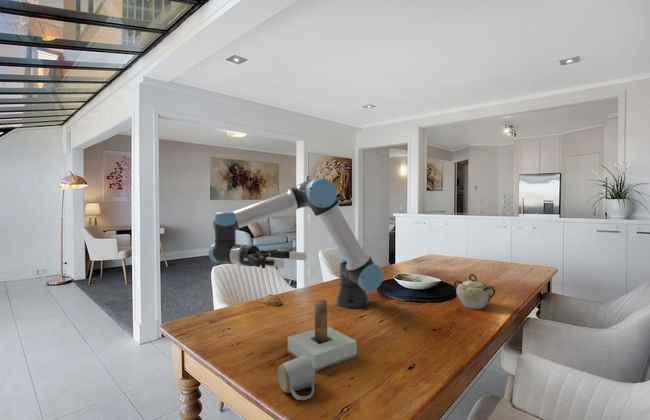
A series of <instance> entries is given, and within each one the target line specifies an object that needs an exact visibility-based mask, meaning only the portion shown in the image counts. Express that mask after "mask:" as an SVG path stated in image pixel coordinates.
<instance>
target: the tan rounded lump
mask: <svg viewBox="0 0 650 420" xmlns="http://www.w3.org/2000/svg"><path fill="white" fill-rule="evenodd" d="M263 302H264V303H265V304H266V305H267V306H272V307H278V306H280V305H281V304H282V300H281V298H280V297H279V296H278V295H275V294H267V295H265V297H264V299H263Z"/></svg>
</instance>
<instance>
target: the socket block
mask: <svg viewBox="0 0 650 420" xmlns="http://www.w3.org/2000/svg"><path fill="white" fill-rule="evenodd" d="M327 339H328V342H325V343H321V344H318V343H317V342H315V328H314V329H311V330H306V331H303V332H300V333H297V334H293V335H289V336H287V353H289V355H291V354H292V355H291V356H293V357H294V358H295V357H296V358H298V357H301V356H303V355H306V356H308V358H309V359H310V360H311V362H312V365H313V368H314V371H317V370H320V369H322V370H324V369H323V368H325V367H328V366H330V367H332V366H331V365H333V366H335V365H334V364H336V365H337V363H338V364H340V363H339V362H341V363H343V362H342V361H344V362H346V361H349V360H351V358H352V359H354V358H357V351H358V349H357V347H358V346H357V345H358V343H357V340H355V339H353V338H352V337H349V336H348V335H345V334H343V333H342V332H340V331H338V330H336V329H334V328H332V327H330V326H329V325H327ZM353 357H354V358H353ZM296 358H295V359H296ZM348 359H349V360H348ZM345 360H346V361H345ZM328 368H329V367H328ZM325 369H326V368H325ZM320 371H321V370H320ZM317 372H318V371H317Z"/></svg>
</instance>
